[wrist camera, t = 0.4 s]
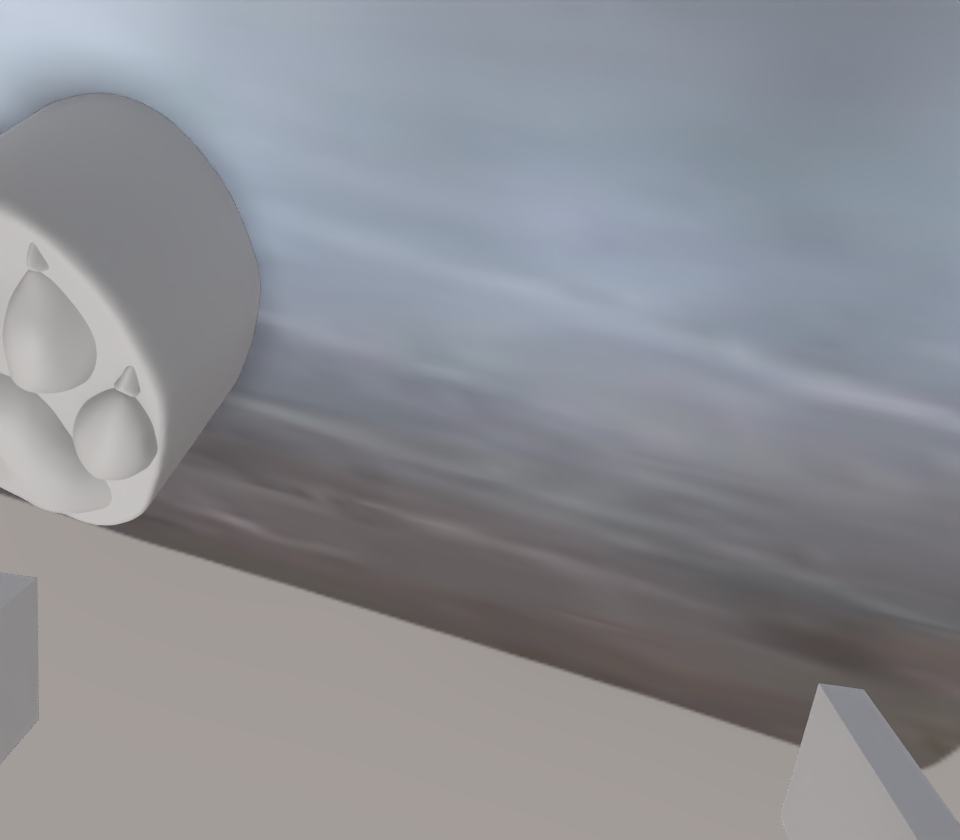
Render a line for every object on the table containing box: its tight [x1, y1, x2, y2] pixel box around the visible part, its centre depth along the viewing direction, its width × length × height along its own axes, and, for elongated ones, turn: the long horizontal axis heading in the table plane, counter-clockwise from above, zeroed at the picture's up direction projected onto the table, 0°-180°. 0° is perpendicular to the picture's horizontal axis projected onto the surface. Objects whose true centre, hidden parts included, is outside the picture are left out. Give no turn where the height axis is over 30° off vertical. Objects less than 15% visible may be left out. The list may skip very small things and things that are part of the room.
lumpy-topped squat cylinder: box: [0, 93, 261, 525], centre depth 28 cm, size 10×13×9 cm
